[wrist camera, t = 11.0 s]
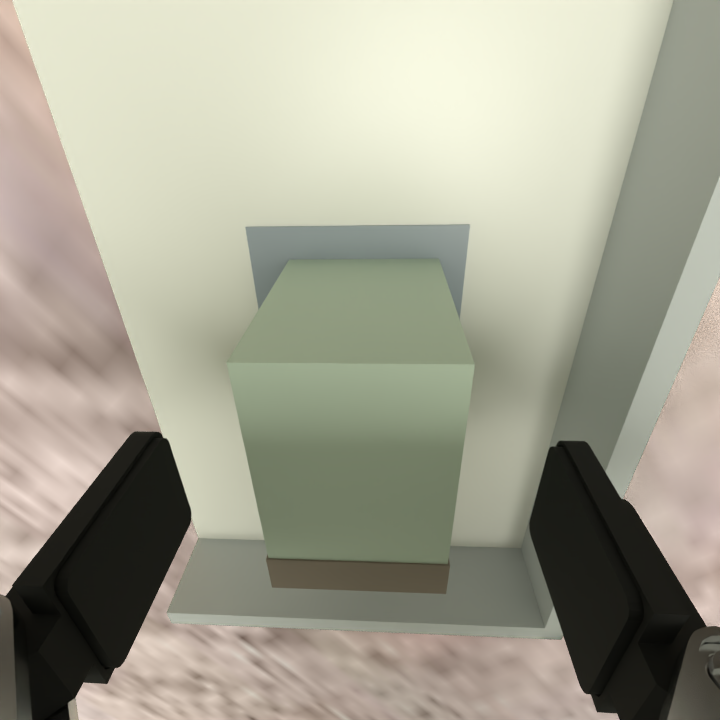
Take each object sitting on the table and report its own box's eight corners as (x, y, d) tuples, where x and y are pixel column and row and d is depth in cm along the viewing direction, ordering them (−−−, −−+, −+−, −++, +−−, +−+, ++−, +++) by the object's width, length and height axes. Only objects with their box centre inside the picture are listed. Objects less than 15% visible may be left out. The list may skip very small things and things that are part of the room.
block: (440, 258, 13) (477, 366, 8) (426, 437, 16) (446, 594, 11) (288, 258, 13) (222, 364, 8) (307, 435, 17) (272, 587, 11)
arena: (531, 548, 21) (561, 639, 17) (206, 537, 22) (171, 623, 18) (724, -96, 9) (933, -216, 6) (8, -61, 10) (-193, -145, 7)
